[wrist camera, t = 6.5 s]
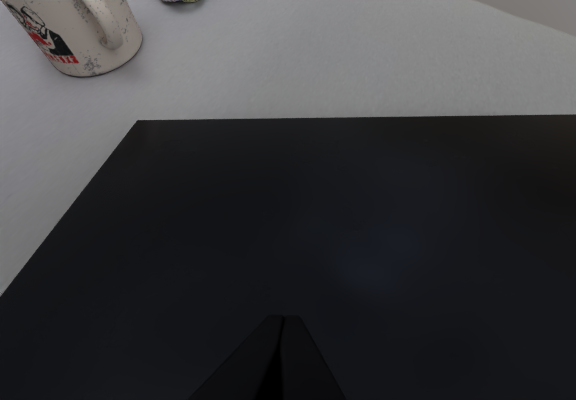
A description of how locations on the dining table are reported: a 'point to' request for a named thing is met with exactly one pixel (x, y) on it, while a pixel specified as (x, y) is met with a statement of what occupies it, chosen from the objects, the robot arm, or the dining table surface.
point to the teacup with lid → (80, 32)
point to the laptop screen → (310, 259)
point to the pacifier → (180, 0)
